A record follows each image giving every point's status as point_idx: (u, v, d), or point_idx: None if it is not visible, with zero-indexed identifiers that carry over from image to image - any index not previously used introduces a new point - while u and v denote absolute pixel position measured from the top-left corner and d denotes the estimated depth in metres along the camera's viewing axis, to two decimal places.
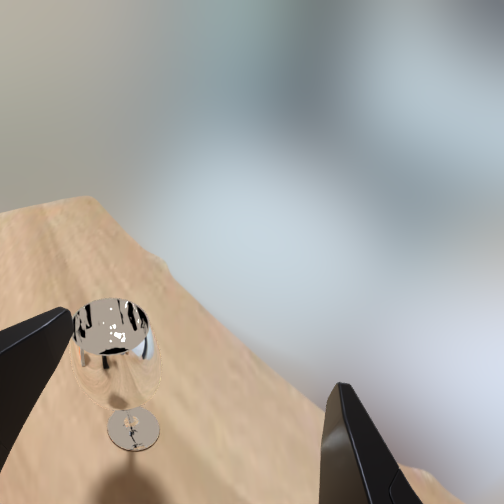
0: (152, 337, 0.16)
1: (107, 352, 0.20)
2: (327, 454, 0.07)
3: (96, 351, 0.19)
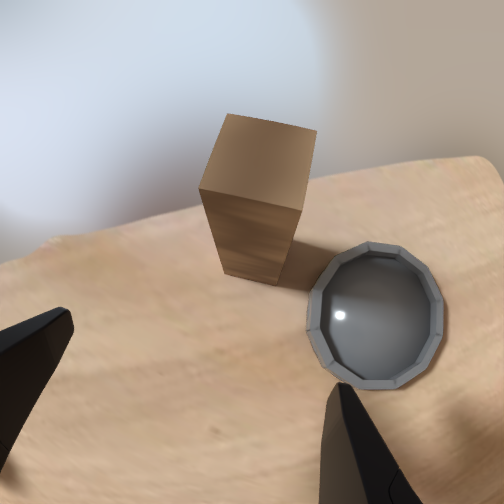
0: None
1: None
2: (327, 454, 0.07)
3: None
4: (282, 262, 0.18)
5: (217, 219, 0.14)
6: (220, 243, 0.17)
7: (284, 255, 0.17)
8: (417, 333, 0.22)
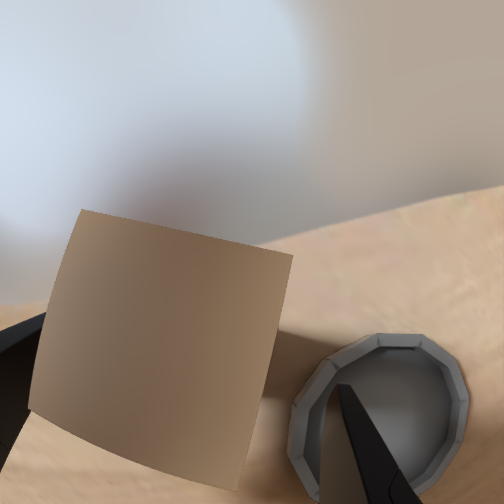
0: None
1: None
2: (327, 454, 0.07)
3: None
4: None
5: None
6: None
7: None
8: (431, 440, 0.14)
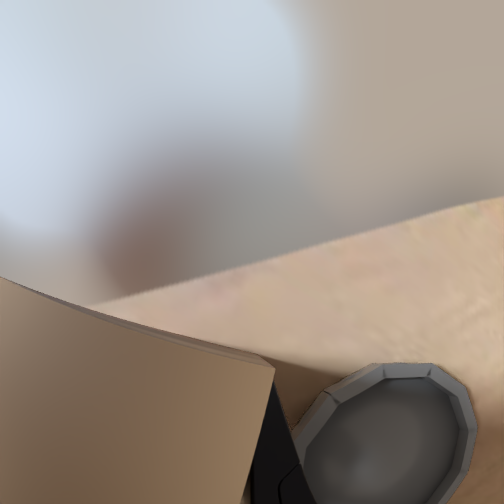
0: None
1: None
2: None
3: None
4: None
5: None
6: None
7: None
8: (435, 470, 0.12)
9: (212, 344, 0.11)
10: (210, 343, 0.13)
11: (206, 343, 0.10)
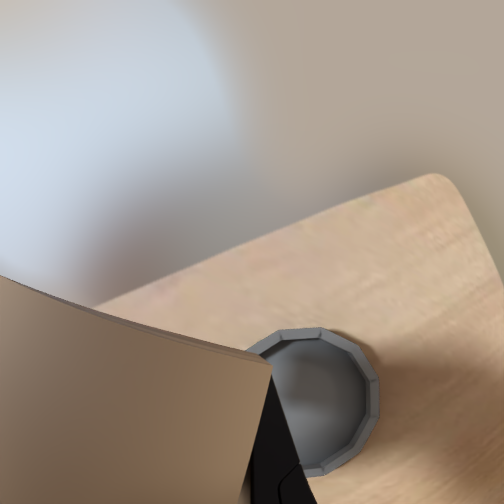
0: None
1: None
2: None
3: None
4: None
5: None
6: None
7: None
8: (350, 415, 0.20)
9: None
10: (209, 342, 0.13)
11: (205, 342, 0.10)
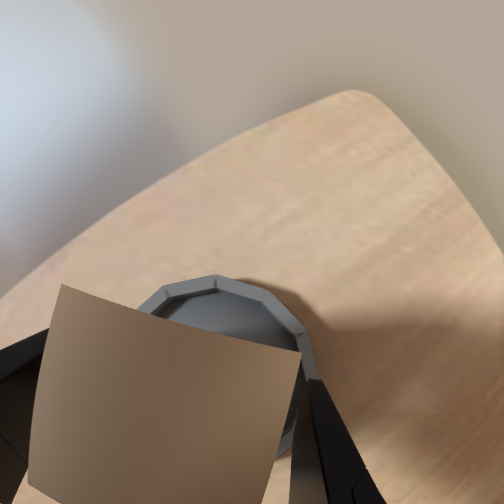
0: None
1: None
2: (297, 450, 0.07)
3: None
4: None
5: None
6: None
7: None
8: None
9: None
10: None
11: None
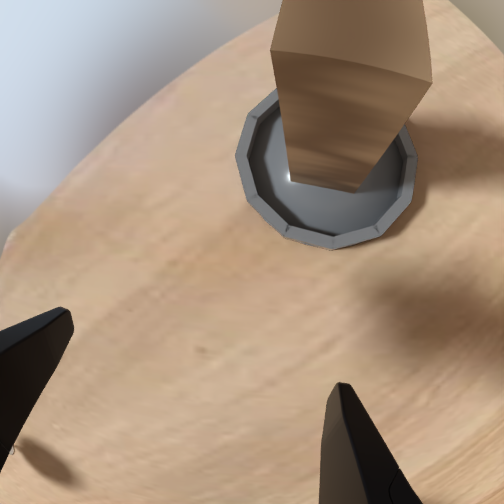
0: None
1: None
2: (327, 454, 0.07)
3: None
4: (373, 163, 0.13)
5: (295, 102, 0.09)
6: (293, 139, 0.12)
7: (380, 152, 0.11)
8: (385, 163, 0.18)
9: None
10: None
11: None
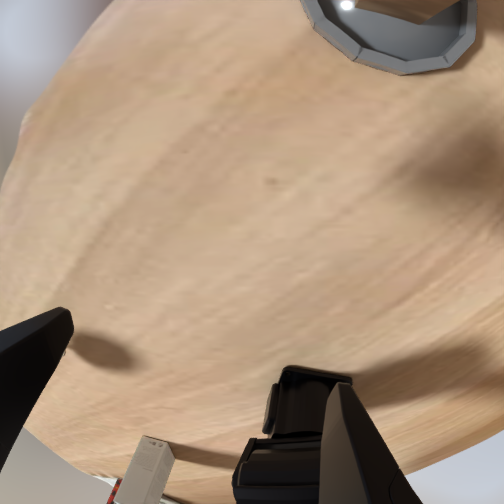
0: None
1: None
2: (327, 454, 0.07)
3: None
4: None
5: None
6: None
7: None
8: None
9: None
10: None
11: None
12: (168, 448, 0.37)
